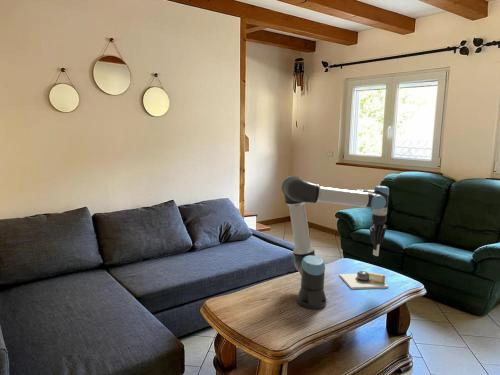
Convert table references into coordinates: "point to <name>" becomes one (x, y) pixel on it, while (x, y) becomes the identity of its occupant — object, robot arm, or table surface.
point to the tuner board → (361, 282)
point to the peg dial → (370, 277)
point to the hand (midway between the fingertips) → (375, 255)
